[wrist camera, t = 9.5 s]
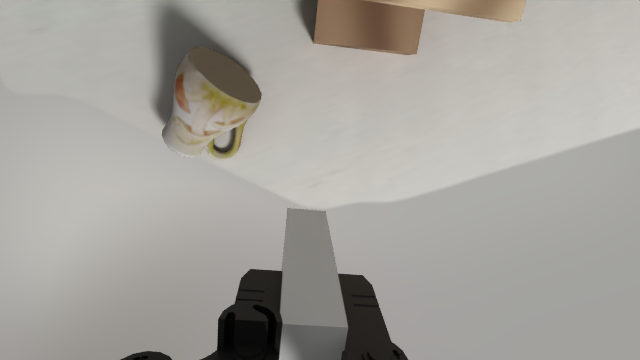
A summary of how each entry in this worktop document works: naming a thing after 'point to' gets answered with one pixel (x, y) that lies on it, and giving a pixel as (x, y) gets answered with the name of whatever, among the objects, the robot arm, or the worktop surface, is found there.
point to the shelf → (468, 7)
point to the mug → (209, 103)
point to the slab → (368, 26)
